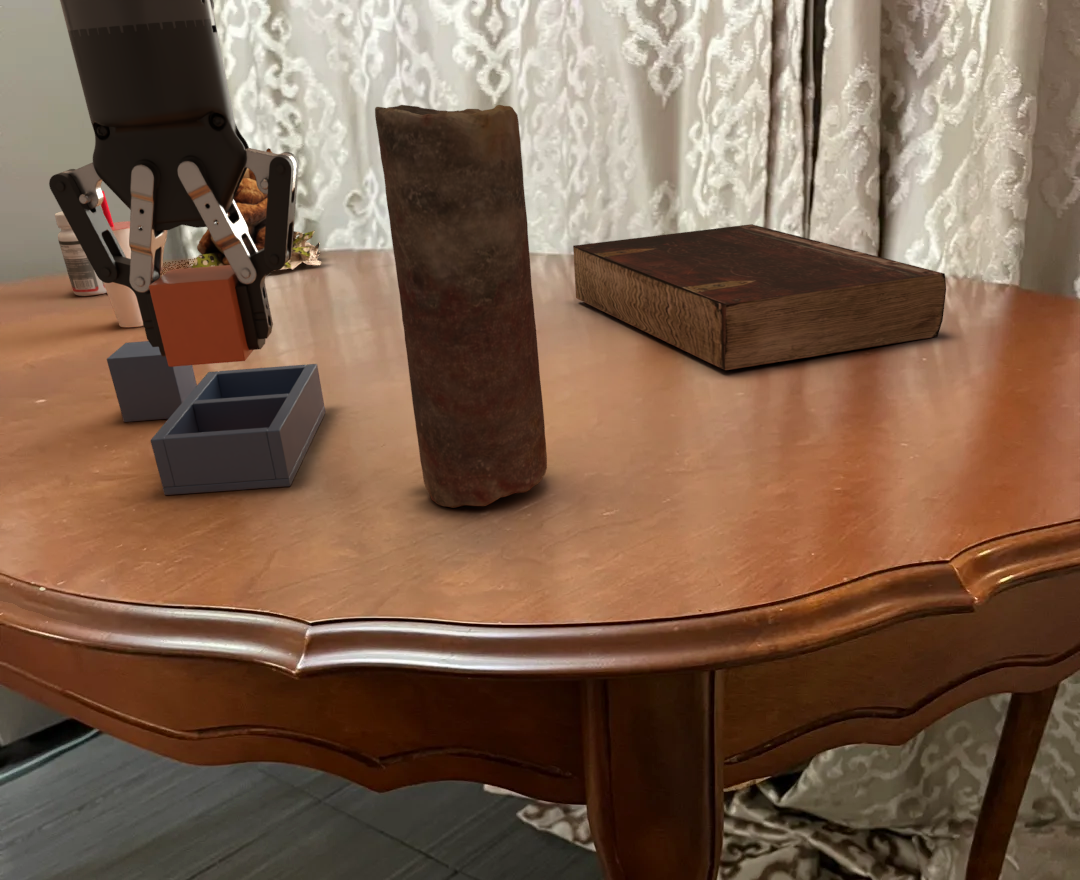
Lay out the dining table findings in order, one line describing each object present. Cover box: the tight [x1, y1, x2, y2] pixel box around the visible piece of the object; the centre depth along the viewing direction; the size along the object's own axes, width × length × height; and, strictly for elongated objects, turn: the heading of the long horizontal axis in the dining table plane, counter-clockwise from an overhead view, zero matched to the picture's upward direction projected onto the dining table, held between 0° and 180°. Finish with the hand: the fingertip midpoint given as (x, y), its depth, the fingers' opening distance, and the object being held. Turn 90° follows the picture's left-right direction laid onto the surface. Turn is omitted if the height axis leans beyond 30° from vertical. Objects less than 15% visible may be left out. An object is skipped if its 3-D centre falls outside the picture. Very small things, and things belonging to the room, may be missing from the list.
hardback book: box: [572, 223, 947, 371], centre depth 94 cm, size 29×19×5 cm, turn 20°
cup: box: [100, 190, 144, 328], centre depth 107 cm, size 5×5×12 cm
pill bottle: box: [54, 211, 107, 297], centre depth 123 cm, size 5×5×8 cm
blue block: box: [106, 340, 198, 423], centre depth 83 cm, size 5×5×5 cm
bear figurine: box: [190, 148, 323, 271], centre depth 129 cm, size 14×15×12 cm
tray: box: [150, 363, 326, 496], centre depth 73 cm, size 8×15×4 cm, turn 1°
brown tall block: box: [374, 104, 548, 509], centre depth 60 cm, size 8×7×20 cm
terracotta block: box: [149, 265, 254, 367], centre depth 66 cm, size 5×5×5 cm
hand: (214, 348), depth 67 cm, fingers closed on terracotta block, 4 cm apart
